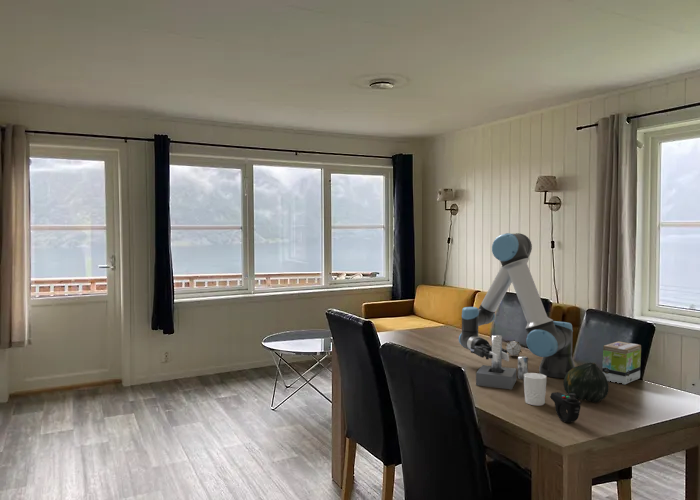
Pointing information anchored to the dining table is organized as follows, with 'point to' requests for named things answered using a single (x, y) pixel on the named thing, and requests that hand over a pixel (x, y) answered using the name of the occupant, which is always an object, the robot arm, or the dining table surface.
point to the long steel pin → (497, 350)
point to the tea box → (621, 362)
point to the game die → (513, 348)
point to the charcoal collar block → (496, 377)
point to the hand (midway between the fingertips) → (502, 358)
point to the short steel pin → (522, 366)
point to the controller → (566, 406)
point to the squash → (586, 383)
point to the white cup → (535, 388)
